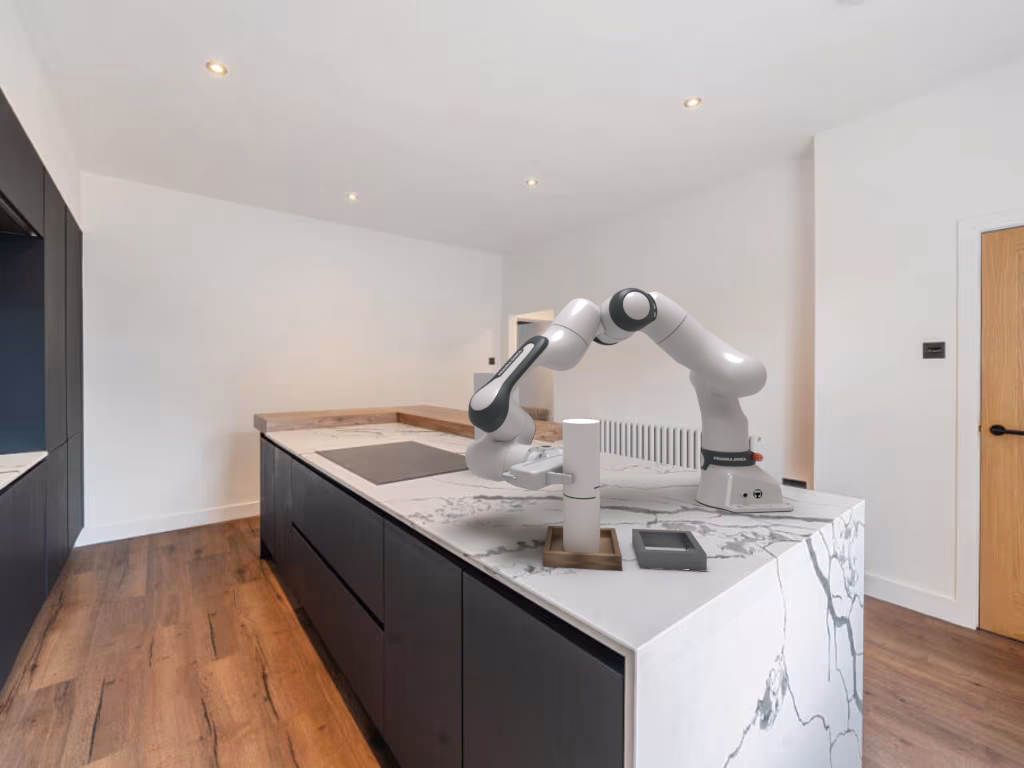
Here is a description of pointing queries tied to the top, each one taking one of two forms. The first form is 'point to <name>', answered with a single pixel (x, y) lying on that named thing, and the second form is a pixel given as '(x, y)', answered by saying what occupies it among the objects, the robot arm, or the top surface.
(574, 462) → the cylindrical container
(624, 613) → the top surface
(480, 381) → the banded white pillar
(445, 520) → the top surface
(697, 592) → the top surface
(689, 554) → the gray square tray
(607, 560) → the walnut tray
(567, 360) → the robot arm
